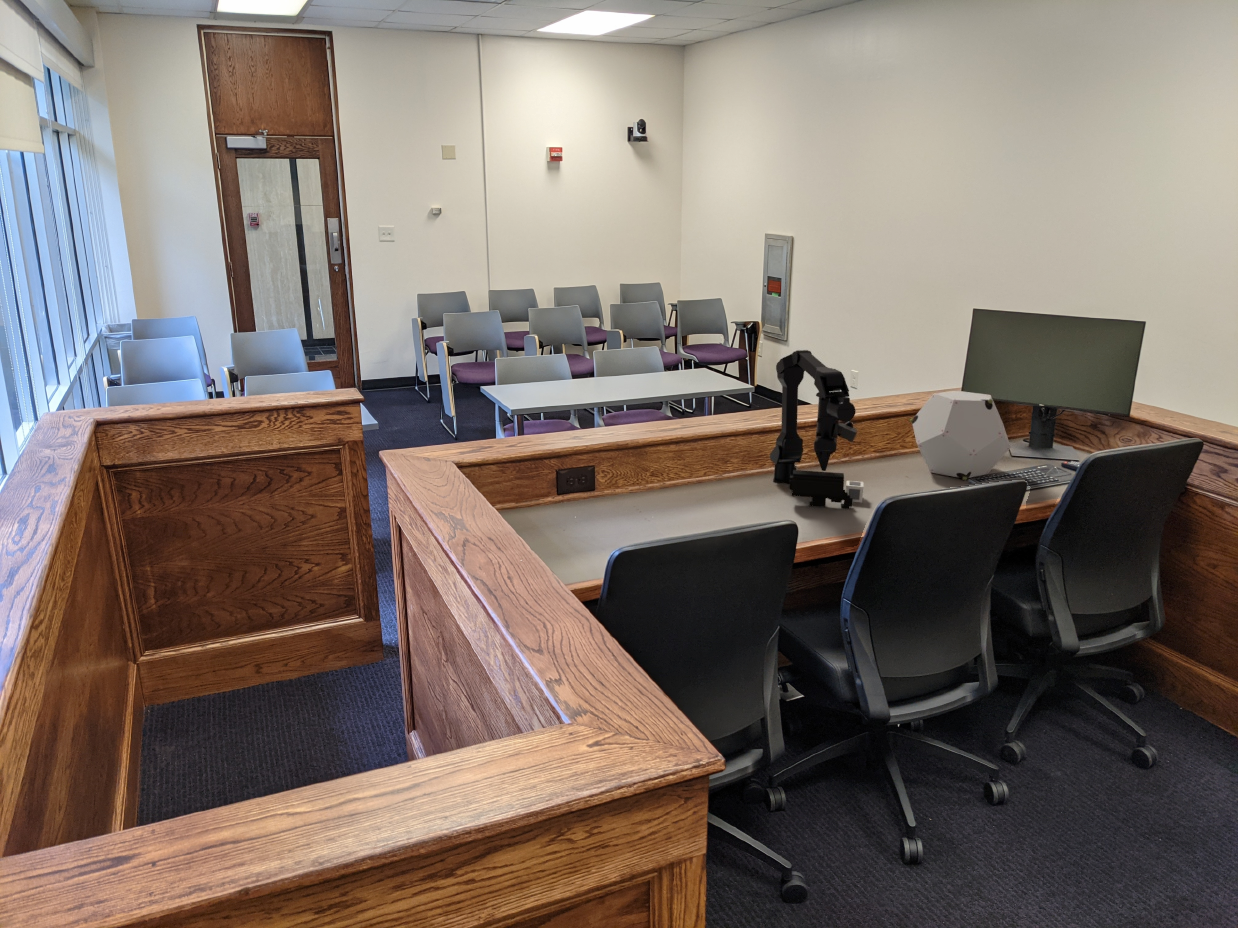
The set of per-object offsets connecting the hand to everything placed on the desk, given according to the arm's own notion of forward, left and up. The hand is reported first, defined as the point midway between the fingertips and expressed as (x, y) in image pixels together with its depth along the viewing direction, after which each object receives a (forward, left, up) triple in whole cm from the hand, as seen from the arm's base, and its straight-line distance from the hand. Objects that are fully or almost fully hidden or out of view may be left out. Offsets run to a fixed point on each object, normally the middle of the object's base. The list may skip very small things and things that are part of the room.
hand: (824, 466), depth 257 cm
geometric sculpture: (+42, +48, -12) cm, 65 cm away
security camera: (0, 0, -12) cm, 12 cm away
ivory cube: (+9, +9, -12) cm, 18 cm away
